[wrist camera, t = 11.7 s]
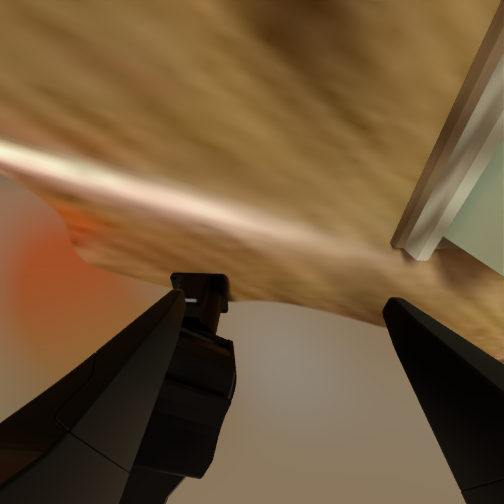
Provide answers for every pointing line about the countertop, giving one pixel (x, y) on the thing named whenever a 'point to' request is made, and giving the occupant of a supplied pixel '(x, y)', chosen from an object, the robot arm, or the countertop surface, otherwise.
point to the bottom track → (458, 151)
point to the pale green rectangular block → (483, 216)
